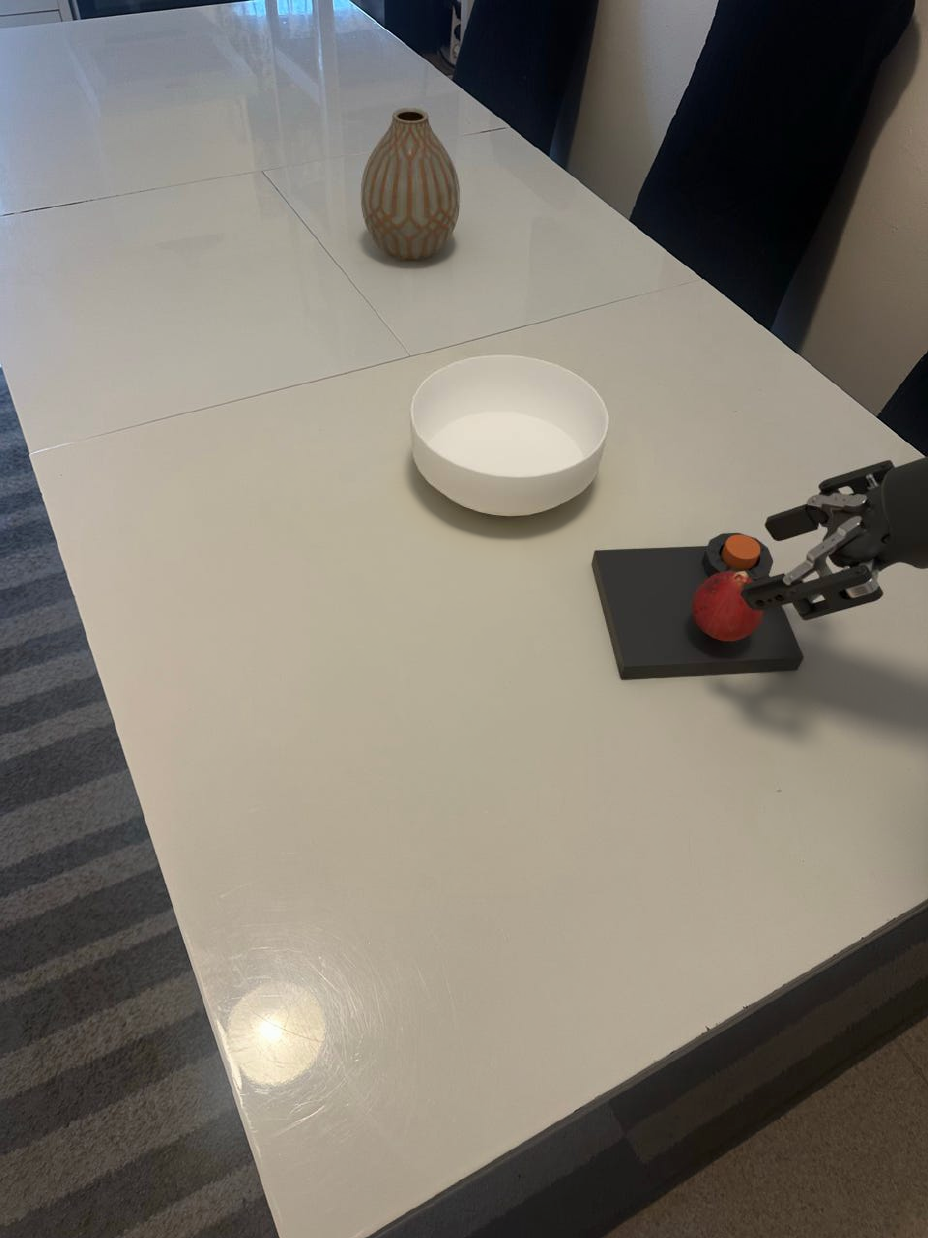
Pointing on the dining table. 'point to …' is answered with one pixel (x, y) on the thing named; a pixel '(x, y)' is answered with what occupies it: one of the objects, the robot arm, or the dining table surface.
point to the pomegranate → (725, 607)
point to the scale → (683, 614)
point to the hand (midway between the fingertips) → (758, 563)
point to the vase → (410, 189)
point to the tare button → (740, 552)
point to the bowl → (507, 433)
